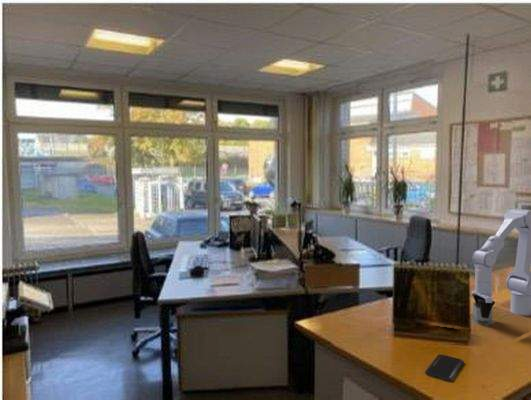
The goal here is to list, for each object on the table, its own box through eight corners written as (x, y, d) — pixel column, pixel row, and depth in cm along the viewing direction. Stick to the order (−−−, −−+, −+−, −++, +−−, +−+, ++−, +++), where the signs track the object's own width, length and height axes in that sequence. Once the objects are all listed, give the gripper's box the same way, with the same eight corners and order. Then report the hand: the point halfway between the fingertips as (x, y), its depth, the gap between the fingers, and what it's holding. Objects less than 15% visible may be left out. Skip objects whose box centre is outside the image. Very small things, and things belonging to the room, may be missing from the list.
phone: (464, 360, 131) (451, 379, 119) (464, 363, 131) (451, 383, 119) (439, 353, 136) (423, 371, 124) (438, 356, 136) (423, 375, 124)
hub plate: (478, 319, 166) (478, 309, 166) (496, 324, 160) (496, 314, 160) (469, 323, 162) (469, 313, 162) (486, 328, 157) (486, 318, 156)
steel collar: (472, 315, 164) (473, 303, 164) (487, 315, 163) (487, 303, 163) (476, 320, 159) (476, 307, 159) (491, 321, 158) (492, 308, 158)
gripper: (467, 275, 168) (466, 308, 169) (477, 286, 154) (477, 321, 155) (485, 276, 166) (485, 308, 168) (498, 286, 152) (497, 322, 153)
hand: (482, 314), depth 161 cm, fingers closed on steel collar, 5 cm apart
